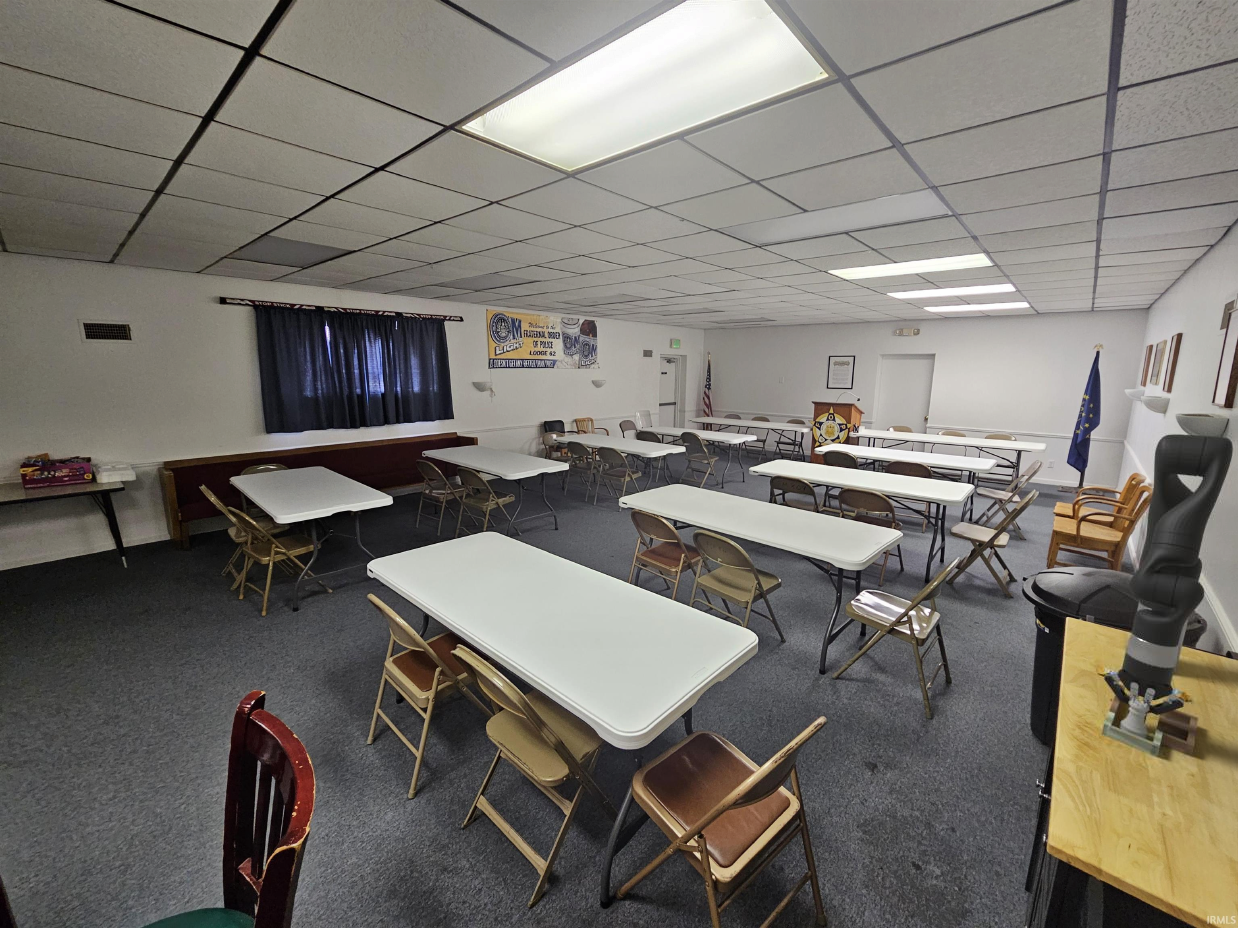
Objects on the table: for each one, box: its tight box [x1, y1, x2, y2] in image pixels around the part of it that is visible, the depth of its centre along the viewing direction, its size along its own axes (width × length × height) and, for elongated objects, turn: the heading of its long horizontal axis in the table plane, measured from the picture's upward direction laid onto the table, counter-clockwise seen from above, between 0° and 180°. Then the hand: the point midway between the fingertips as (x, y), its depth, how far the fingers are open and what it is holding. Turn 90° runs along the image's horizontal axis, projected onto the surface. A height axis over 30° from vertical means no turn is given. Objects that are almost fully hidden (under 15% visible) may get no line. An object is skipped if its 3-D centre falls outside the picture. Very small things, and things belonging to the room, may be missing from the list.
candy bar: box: [1095, 664, 1191, 702], centre depth 125 cm, size 17×4×2 cm, turn 44°
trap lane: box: [1101, 683, 1199, 758], centre depth 110 cm, size 23×13×2 cm, turn 128°
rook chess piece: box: [1118, 698, 1150, 739], centre depth 108 cm, size 4×4×8 cm
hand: (1135, 722), depth 110 cm, fingers closed
